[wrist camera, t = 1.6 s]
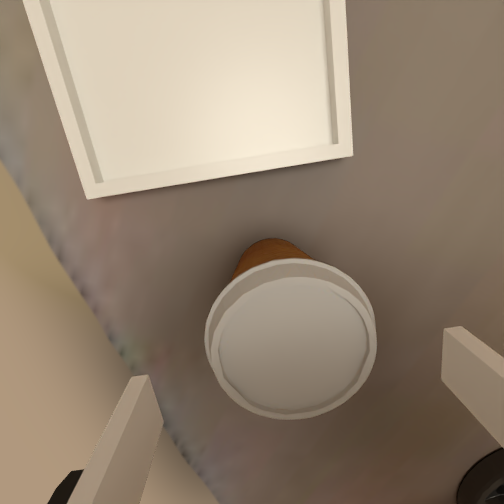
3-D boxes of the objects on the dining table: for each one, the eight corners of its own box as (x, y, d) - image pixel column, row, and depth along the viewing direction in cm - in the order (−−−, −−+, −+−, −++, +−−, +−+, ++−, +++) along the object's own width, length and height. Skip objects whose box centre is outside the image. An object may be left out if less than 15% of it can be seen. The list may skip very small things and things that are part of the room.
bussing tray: (341, 156, 23) (353, 155, 21) (102, 195, 24) (86, 199, 21) (320, -182, 18) (333, -237, 15) (4, -123, 18) (-32, -167, 16)
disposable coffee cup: (211, 228, 25) (183, 282, 13) (320, 212, 25) (386, 253, 13) (228, 324, 28) (218, 437, 16) (327, 310, 28) (386, 414, 16)
